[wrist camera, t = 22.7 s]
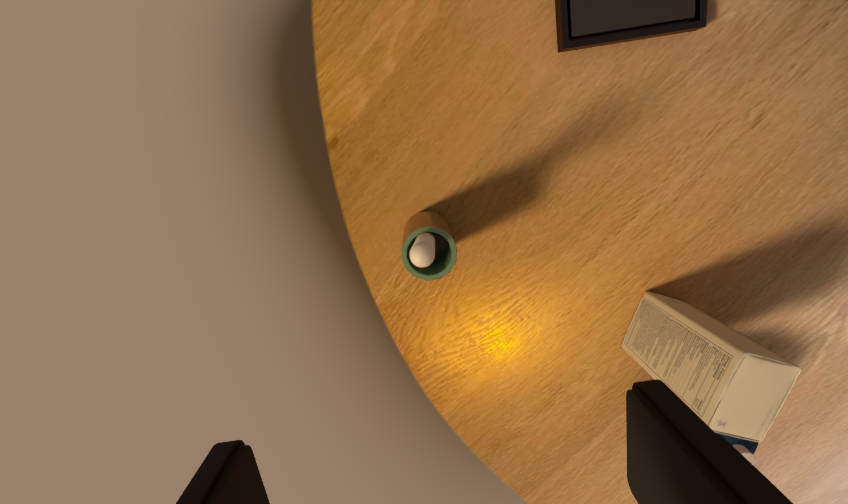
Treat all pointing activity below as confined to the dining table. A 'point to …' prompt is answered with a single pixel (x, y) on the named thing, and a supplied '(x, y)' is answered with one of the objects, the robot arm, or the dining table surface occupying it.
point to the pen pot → (443, 245)
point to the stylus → (423, 250)
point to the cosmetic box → (710, 366)
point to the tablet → (622, 35)
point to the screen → (624, 14)
